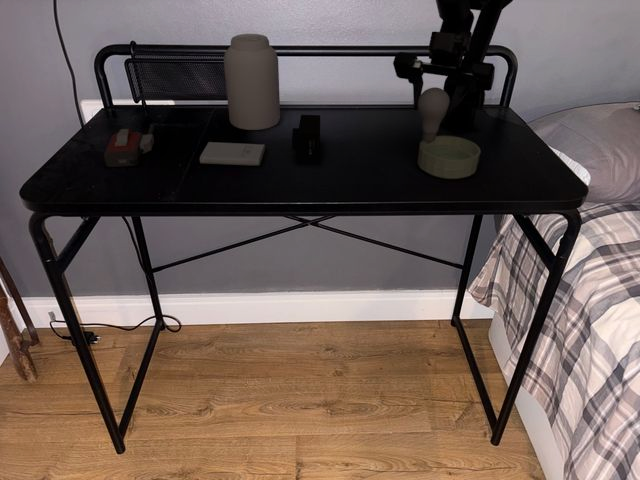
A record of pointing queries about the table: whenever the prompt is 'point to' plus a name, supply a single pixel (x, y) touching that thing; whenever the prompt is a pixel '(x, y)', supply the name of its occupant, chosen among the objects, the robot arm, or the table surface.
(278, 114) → the wide mouth jar
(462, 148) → the bowl
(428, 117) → the lightbulb
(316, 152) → the digital camera
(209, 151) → the hard drive
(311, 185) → the table surface
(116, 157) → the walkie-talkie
